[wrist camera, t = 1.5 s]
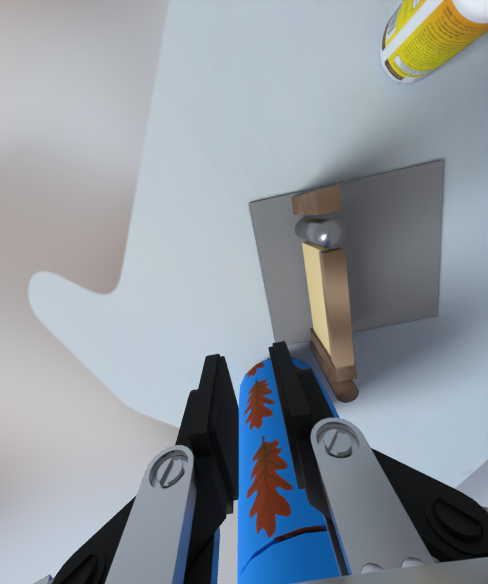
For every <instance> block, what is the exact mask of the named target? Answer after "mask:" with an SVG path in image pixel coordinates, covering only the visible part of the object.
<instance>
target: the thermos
mask: <svg viewBox="0 0 488 584" xmlns="http://www.w3.org/2000/svg"><path fill="white" fill-rule="evenodd" d="M292 361H293V364H294V367H295V370H296V371H297V370H302V369H308V368H310V367H309V366H308V365H306V364H304V363H302V362H301V361H299V360H296V359H292ZM312 371H313V370H312ZM313 373H314V372H313ZM314 375H315V377H316V379H317V381H318V383H319V385H320V388H321V390H322V392H323V394H324V396H325V398H326V400H327V402H328V405H329V407H330V409H331V411H332V413H333V415H334V417H335V418H339V416H338V414H337V412H336V410H335V408H334V406H333V404H332V402H331V400H330V397H329V396H328V394H327V392H326V391H325V389H324V387H323V385H322V384H321V382H320V380H319V379H318V377H317V375H316V374H315V373H314ZM334 577H340V575H339V572H338V568H337V565H336V561H335V557H334V554H333V550H332V546H331V543H330V539H329V535H328V532H327V528H326V525H325V521H324V517H323V514H322V513H321V512H319V511H318V510H317V509H315V508H314V507H313V506H311V505H310V504H309V501H308V500H307V496H306V492H305V489H299V490H298V486H297V481H296V476H295V472H294V467H293V462H292V458H291V453H290V448H289V444H288V439H287V434H286V430H285V425H284V421H283V416H282V411H281V407H280V402H279V397H278V392H277V387H276V382H275V377H274V373H273V368H272V363H271V359H268V360H266V361H263V362H261V363H259V364H257V365H255V366H254V367H253V368H252V369H251V370H250V371H249V372H248V373H247V374H246V375H245V377H244V379H243V381H242V383H241V386H240V397H239V498H238V584H293V583H299V582H306V581H313V580H320V579H327V578H334Z"/></svg>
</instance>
